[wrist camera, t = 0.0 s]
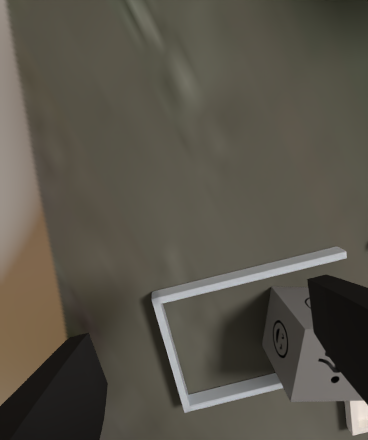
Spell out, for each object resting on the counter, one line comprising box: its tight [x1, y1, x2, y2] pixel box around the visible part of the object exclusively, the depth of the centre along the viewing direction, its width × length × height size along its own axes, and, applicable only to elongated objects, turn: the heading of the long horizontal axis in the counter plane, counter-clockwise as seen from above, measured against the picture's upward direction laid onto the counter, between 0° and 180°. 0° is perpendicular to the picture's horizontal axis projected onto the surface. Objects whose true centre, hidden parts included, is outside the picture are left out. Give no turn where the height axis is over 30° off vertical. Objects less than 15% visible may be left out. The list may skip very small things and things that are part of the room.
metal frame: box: [151, 247, 347, 412], centre depth 20 cm, size 10×14×1 cm
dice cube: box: [262, 287, 364, 402], centre depth 19 cm, size 5×5×5 cm
